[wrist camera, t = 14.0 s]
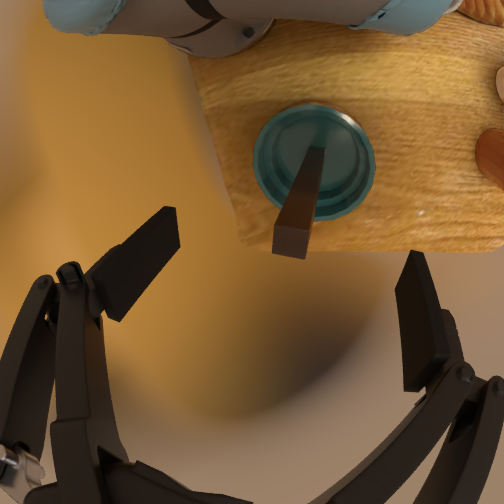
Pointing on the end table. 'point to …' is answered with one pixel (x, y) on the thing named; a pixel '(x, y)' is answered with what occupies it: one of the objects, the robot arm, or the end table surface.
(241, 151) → the end table surface
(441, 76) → the end table surface
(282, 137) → the bowl
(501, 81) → the cup
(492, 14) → the pastry
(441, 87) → the end table surface
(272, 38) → the end table surface
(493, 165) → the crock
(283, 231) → the stick
